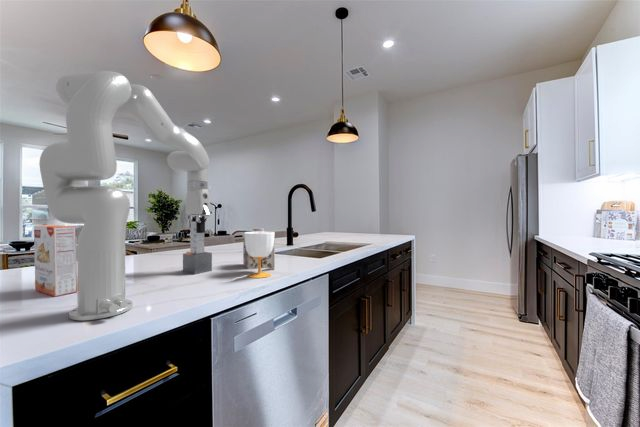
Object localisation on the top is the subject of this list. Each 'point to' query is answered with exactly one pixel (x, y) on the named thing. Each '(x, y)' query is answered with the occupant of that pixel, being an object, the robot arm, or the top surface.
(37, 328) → the top surface
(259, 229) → the decorative jar
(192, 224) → the column
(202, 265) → the stand base
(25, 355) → the top surface
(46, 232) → the cracker box
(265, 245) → the cup
